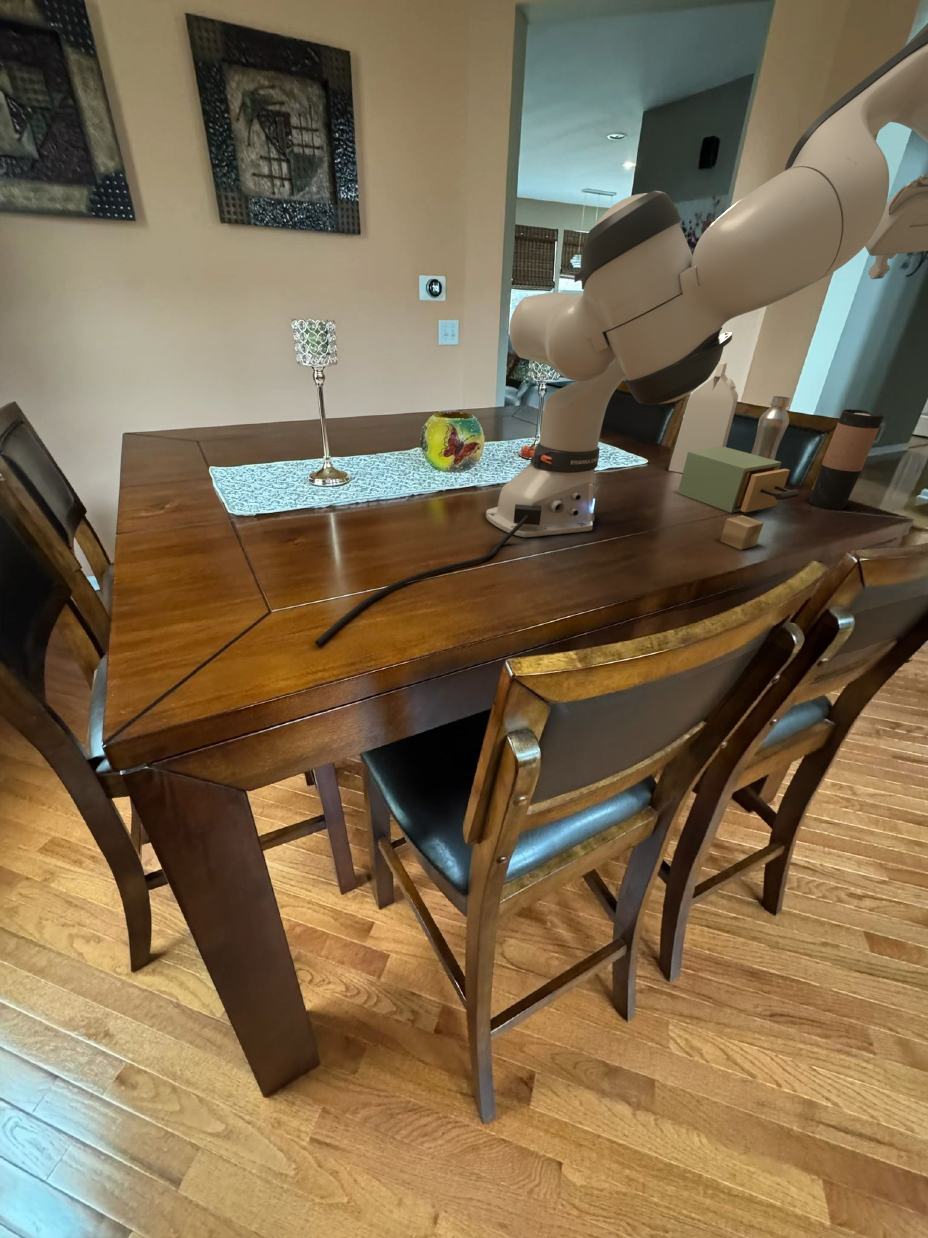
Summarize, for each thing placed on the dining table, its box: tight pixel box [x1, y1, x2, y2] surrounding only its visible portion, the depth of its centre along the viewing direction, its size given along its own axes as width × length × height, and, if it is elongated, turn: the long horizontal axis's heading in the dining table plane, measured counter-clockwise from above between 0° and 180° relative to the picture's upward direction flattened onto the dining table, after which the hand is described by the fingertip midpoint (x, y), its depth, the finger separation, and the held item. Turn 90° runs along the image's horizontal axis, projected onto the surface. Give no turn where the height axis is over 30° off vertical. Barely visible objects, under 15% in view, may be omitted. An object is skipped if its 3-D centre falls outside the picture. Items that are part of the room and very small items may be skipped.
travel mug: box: [808, 408, 885, 511], centre depth 118 cm, size 8×8×20 cm
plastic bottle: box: [750, 395, 791, 461], centre depth 132 cm, size 6×7×20 cm
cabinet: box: [677, 446, 782, 514], centre depth 121 cm, size 15×13×10 cm
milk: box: [668, 361, 739, 474], centre depth 138 cm, size 12×12×26 cm
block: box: [719, 514, 764, 551], centre depth 100 cm, size 4×4×4 cm
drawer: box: [735, 467, 800, 513], centre depth 117 cm, size 18×11×8 cm, turn 30°
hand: (905, 272), depth 78 cm, fingers open, 8 cm apart
